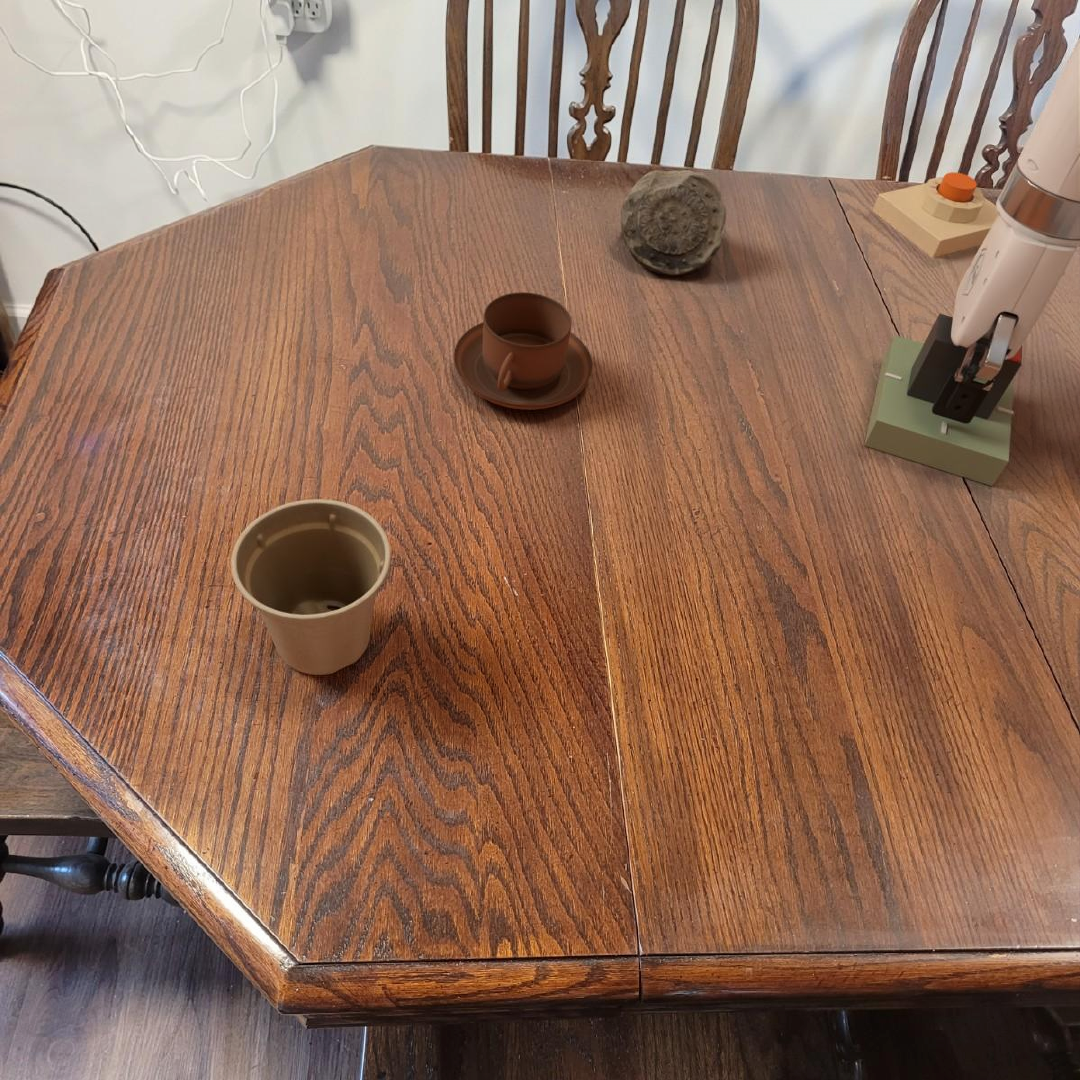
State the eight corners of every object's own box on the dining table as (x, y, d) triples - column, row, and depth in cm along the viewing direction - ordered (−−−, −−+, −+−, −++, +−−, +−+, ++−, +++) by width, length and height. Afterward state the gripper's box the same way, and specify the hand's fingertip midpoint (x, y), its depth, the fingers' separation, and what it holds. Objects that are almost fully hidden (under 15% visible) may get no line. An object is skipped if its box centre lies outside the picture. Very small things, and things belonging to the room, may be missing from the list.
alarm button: (953, 184, 106) (960, 169, 105) (976, 200, 104) (984, 185, 103) (930, 189, 105) (937, 175, 103) (953, 206, 103) (960, 191, 101)
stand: (881, 359, 89) (894, 333, 87) (1000, 395, 88) (1016, 369, 85) (862, 445, 81) (876, 418, 79) (993, 486, 79) (1011, 460, 77)
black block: (906, 394, 81) (936, 336, 77) (911, 368, 84) (940, 310, 79) (987, 420, 80) (1023, 362, 76) (990, 392, 83) (1024, 335, 78)
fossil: (635, 283, 92) (632, 174, 89) (604, 273, 101) (599, 173, 97) (736, 271, 95) (737, 164, 91) (697, 262, 103) (696, 164, 99)
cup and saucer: (592, 427, 79) (602, 370, 75) (449, 417, 78) (451, 358, 74) (586, 338, 87) (596, 281, 82) (457, 328, 86) (459, 270, 81)
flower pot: (247, 590, 65) (228, 506, 58) (384, 573, 67) (380, 490, 61) (253, 707, 59) (232, 628, 53) (402, 685, 61) (401, 607, 55)
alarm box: (946, 194, 112) (961, 162, 109) (1008, 238, 107) (1025, 206, 104) (871, 211, 108) (884, 178, 105) (932, 258, 102) (948, 225, 99)
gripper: (1009, 137, 74) (920, 317, 87) (999, 244, 63) (899, 432, 76) (1106, 162, 73) (1002, 341, 86) (1113, 276, 62) (992, 461, 75)
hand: (954, 383), depth 81 cm, fingers open, 8 cm apart
